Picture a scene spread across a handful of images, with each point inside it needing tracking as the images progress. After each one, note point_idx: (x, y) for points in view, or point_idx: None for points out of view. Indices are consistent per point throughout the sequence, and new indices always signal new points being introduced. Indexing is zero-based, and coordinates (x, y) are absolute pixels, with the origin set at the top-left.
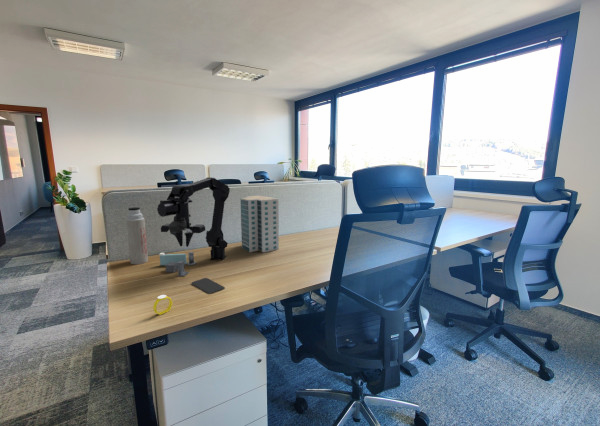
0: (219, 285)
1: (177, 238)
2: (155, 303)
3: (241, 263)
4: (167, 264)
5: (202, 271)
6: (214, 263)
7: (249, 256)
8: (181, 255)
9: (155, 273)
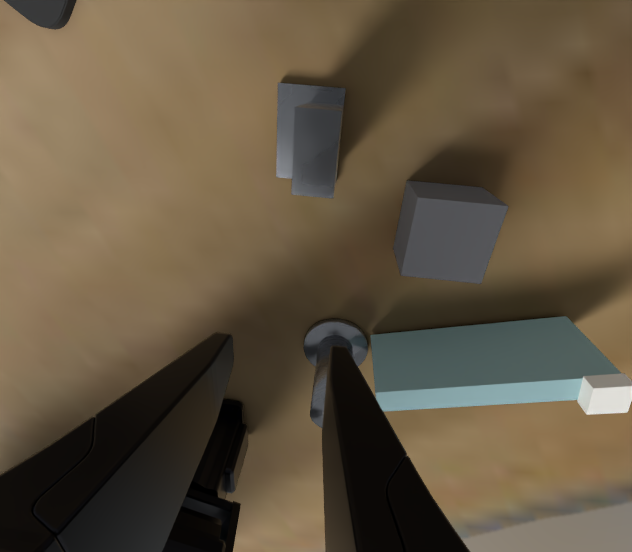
0: None
1: (400, 498)
2: None
3: (19, 346)
4: (491, 225)
5: (185, 207)
6: (185, 349)
7: (50, 436)
8: (409, 384)
9: (573, 150)
